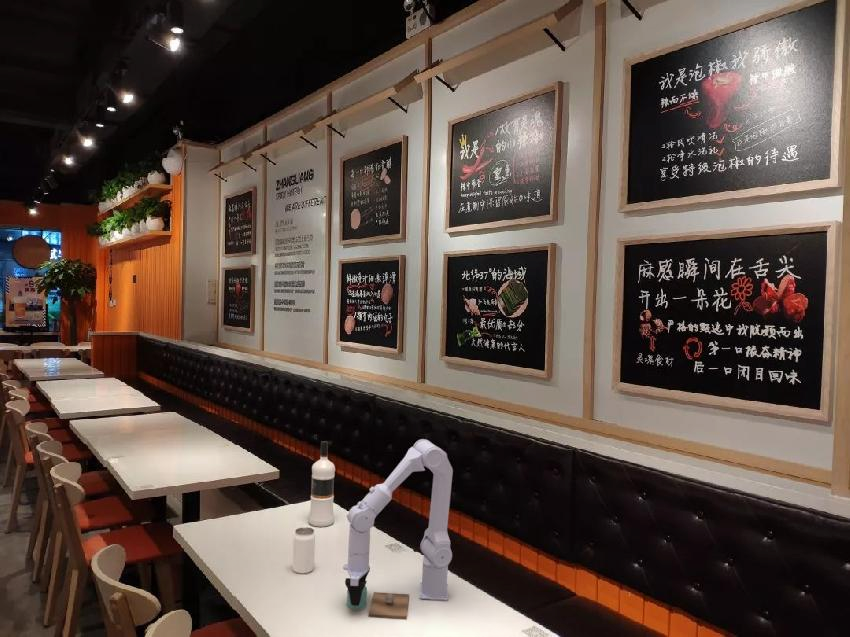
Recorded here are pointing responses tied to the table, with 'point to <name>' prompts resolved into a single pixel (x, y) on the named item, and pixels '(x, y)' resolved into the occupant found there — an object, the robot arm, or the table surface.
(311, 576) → the table surface
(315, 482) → the vodka
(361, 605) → the cap
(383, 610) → the stud board
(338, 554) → the table surface
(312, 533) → the can
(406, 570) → the table surface
